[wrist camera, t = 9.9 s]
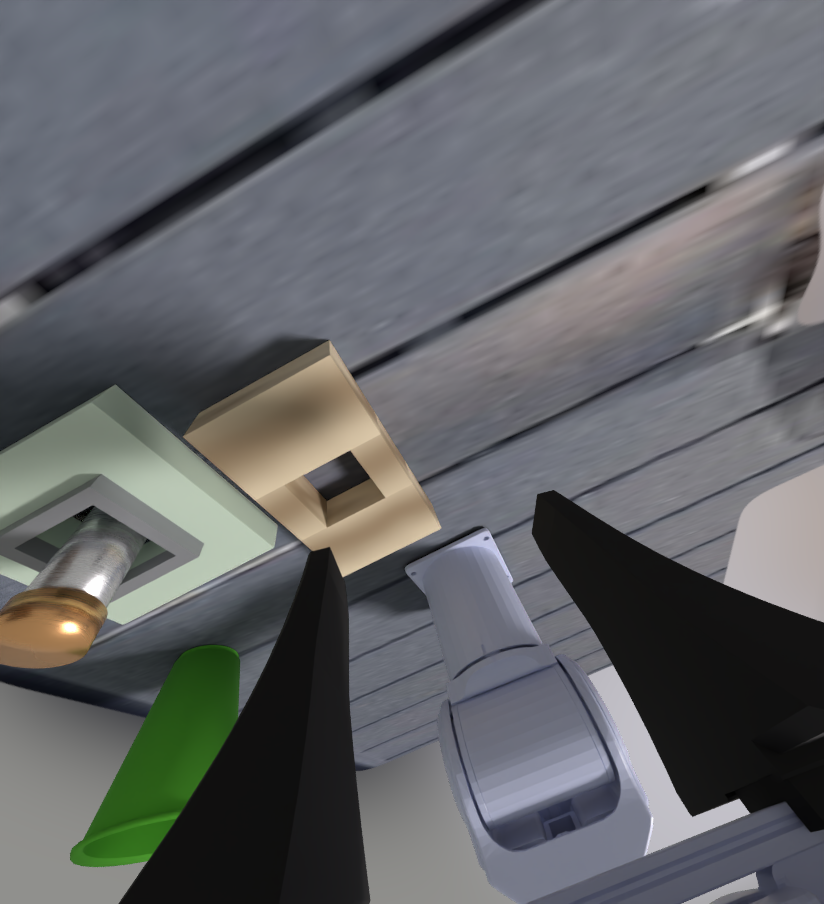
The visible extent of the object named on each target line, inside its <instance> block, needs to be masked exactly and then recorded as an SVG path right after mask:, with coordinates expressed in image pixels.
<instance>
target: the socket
mask: <svg viewBox="0 0 824 904" xmlns="http://www.w3.org/2000/svg"><path fill="white" fill-rule="evenodd" d="M92 505H94V506H95V507H97V508H99V509H100V510H102V511H104V512H105V513H107V514H108V515H110V516H112V517H113V518H115V519H117V520H118V521H120V522H122V523H123V524H125V525H126V526H128V527H130V528H131V529H133V530H135V531H136V532H138V533H140V534H141V535H143V536H144V537H146V538H148V539H149V540H151V541H149V542H148V543H146V544H144V545H143V546H142V548H141V550H140V551H139V553H138V555H137V557H136V558H135V560H134V562H133V563H132V565H131V567H130V569H129V570H128V572H127V574H126V576H125V577H124V579H123V581H122V583H121V584H120V586H119V588H118V589H117V591H116V593H115V595H114V596H113V598H112V600H111V602H110V603H109V605H108V607H107V611H108V615H107V618H108V619H110V620H113V621H115V622H117V623H120V624H122V625H124V624H126V623H128V622H130V621H132V620H134V619H136V618H138V617H140V616H142V615H144V614H145V613H147V612H149V611H151V610H153V609H155V608H157V607H159V606H161V605H163V604H165V603H167V602H169V601H171V600H173V599H175V598H177V597H179V596H181V595H183V594H185V593H187V592H188V591H190V590H192V589H194V588H196V587H198V586H200V585H202V584H204V583H206V582H208V581H210V580H212V579H214V578H216V577H218V576H220V575H222V574H224V573H226V572H228V571H229V570H231V569H233V568H235V567H237V566H239V565H241V564H243V563H245V562H247V561H249V560H251V559H253V558H255V557H257V556H259V555H261V554H263V553H265V552H267V551H269V550H271V549H272V548H274V546H275V540H276V533H277V527H278V525H277V524H276V523H275V522H274V521H272V520H271V519H270V518H269V517H268V516H267V515H266V514H264V513H263V512H262V511H261V510H260V509H259V508H257V507H256V506H255V505H254V504H253V503H252V502H251V501H249V500H248V499H247V498H246V497H245V496H244V495H242V494H241V493H240V492H239V491H238V490H237V489H236V488H234V487H233V486H232V485H231V484H230V483H229V482H227V481H226V480H225V479H224V478H223V477H222V476H221V475H219V474H218V473H217V472H216V471H215V470H214V469H212V468H211V467H210V466H209V465H208V464H207V463H206V462H204V461H203V460H202V459H201V458H200V457H199V456H197V455H196V454H195V453H194V452H193V451H192V450H191V449H189V448H188V447H187V446H186V445H185V444H184V443H182V442H181V441H180V440H179V439H178V438H177V437H175V436H174V435H173V434H172V433H171V432H170V431H169V430H167V429H166V428H165V427H164V426H163V425H162V424H160V423H159V422H158V421H157V420H156V419H155V418H154V417H152V416H151V415H150V414H149V413H148V412H147V411H145V410H144V409H143V408H142V407H141V406H140V405H139V404H137V403H136V402H135V401H134V400H133V399H132V398H130V397H129V396H128V395H127V394H126V393H125V392H124V391H122V390H121V389H120V388H119V387H118V386H117V385H114V386H112V387H110V388H108V389H107V390H105V391H103V392H102V393H100V394H98V395H96V396H95V397H93V398H91V399H90V400H88V401H86V402H84V403H83V404H81V405H79V406H78V407H76V408H74V409H72V410H71V411H69V412H67V413H65V414H64V415H62V416H60V417H59V418H57V419H55V420H53V421H52V422H50V423H48V424H47V425H45V426H43V427H41V428H40V429H38V430H36V431H35V432H33V433H31V434H29V435H28V436H26V437H24V438H23V439H21V440H19V441H17V442H16V443H14V444H12V445H11V446H9V447H7V448H5V449H4V450H2V451H0V574H2V575H4V576H6V577H9V578H11V579H14V580H16V581H18V582H21V583H23V584H26V585H28V586H29V585H30V584H31V582H32V581H33V580H34V579H35V578H36V576H37V575H38V574H39V573H40V572H41V570H42V569H43V568H44V567H45V566H46V564H47V563H48V562H49V561H50V560H51V558H52V557H53V556H54V555H55V554H56V552H57V551H58V550H59V549H60V548H61V546H62V545H63V544H64V543H65V542H66V540H67V539H68V538H69V537H70V536H71V534H72V533H73V532H74V531H75V530H76V528H77V527H78V526H79V525H80V524H81V521H79V520H77V519H76V518H74V517H72V516H73V515H75V514H77V513H79V512H81V511H83V510H84V509H86V508H88V507H90V506H92Z"/></svg>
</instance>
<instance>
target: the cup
mask: <svg viewBox="0 0 824 904" xmlns="http://www.w3.org/2000/svg"><path fill="white" fill-rule="evenodd" d="M239 678H240V659H239V655H238V653H237V652H236V651H235V650H234V649H232V648H230V647H226V646H221V645H205V646H199V647H195V648H192V649H190V650H187V651H186V652H184V653H183V654H182V655H181V656H180V657H179V659H178V660H177V661H176V662H175V663H174V665H173V667H172V669H171V671H170V673H169V675H168V677H167V679H166V681H165V682H164V684H163V686H162V688H161V690H160V692H159V694H158V696H157V698H156V700H155V702H154V704H153V706H152V708H151V710H150V711H149V713H148V715H147V717H146V719H145V721H144V723H143V725H142V727H141V729H140V731H139V733H138V735H137V737H136V739H135V740H134V743H133V744H132V746H131V748H130V750H129V752H128V754H127V756H126V758H125V760H124V762H123V764H122V766H121V768H120V769H119V771H118V773H117V775H116V777H115V779H114V781H113V783H112V785H111V787H110V789H109V791H108V793H107V795H106V797H105V799H104V800H103V802H102V804H101V806H100V808H99V810H98V812H97V814H96V816H95V818H94V820H93V822H92V824H91V826H90V827H89V830H88V831H87V833H86V835H85V837H84V839H83V840H82V841H80V842H79V843H78V844H77V845H76V846H74V847H73V848H72V850H71V853H70V860H71V861H72V862H73V863H74V864H77V865H80V866H89V867H105V866H118V865H126V864H133V863H138V862H145V861H148V860H149V859H150V857H151V856H152V854H153V853H154V851H155V850H156V848H157V847H158V846H159V844H160V843H161V841H162V840H163V838H164V837H165V835H166V834H167V832H168V831H169V830H170V828H171V827H172V825H173V824H174V822H175V820H176V819H177V817H178V816H179V814H180V813H181V811H182V810H183V808H184V807H185V805H186V803H187V802H188V800H189V799H190V797H191V795H192V794H193V792H194V791H195V789H196V788H197V786H198V784H199V783H200V781H201V780H202V778H203V776H204V775H205V773H206V772H207V770H208V768H209V767H210V765H211V764H212V762H213V760H214V759H215V757H216V756H217V754H218V752H219V751H220V749H221V747H222V745H223V744H224V742H225V740H226V739H227V737H228V735H229V733H230V732H231V730H232V728H233V726H234V724H235V723H236V721H237V719H238V703H239Z"/></svg>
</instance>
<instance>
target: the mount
mask: <svg viewBox="0 0 824 904" xmlns="http://www.w3.org/2000/svg"><path fill="white" fill-rule="evenodd" d="M183 438H185V439H186V440H187V441H188V442H189V443H190V444H191V445H193V446H194V447H195V448H196V449H197V450H198V451H199V452H201V453H202V454H203V455H204V456H205V457H206V458H207V459H209V460H210V461H211V462H212V463H213V464H214V465H215V466H216V467H218V468H219V469H220V470H221V471H222V472H223V473H224V474H226V475H227V476H228V477H229V478H230V479H231V480H232V481H234V482H235V483H236V484H237V485H238V486H239V487H240V488H242V489H243V490H244V491H245V492H246V493H247V494H248V495H249V496H251V497H252V498H253V499H254V500H255V501H256V502H257V503H259V504H260V505H261V506H262V507H263V508H264V509H265V510H267V511H268V512H269V513H270V514H271V515H272V516H273V517H274V518H276V519H277V520H278V521H279V522H280V523H281V524H282V525H284V526H285V527H286V528H287V529H288V530H289V531H290V532H292V533H293V534H294V535H295V536H296V537H297V538H298V539H300V540H301V541H302V542H303V543H304V544H305V545H306V546H307V547H309V548H310V549H311V550H312V551H315V550H319V549H323V548H327V547H330V548H331V550H332V553H333V555H334V558H335V560H336V562H337V565H338V567H339V570H340V572H341V574H342V577H344V576H346V575H348V574H350V573H352V572H354V571H357V570H359V569H361V568H363V567H365V566H367V565H369V564H371V563H373V562H375V561H377V560H379V559H381V558H383V557H385V556H387V555H389V554H391V553H393V552H395V551H397V550H399V549H401V548H403V547H405V546H407V545H409V544H411V543H413V542H415V541H417V540H419V539H421V538H423V537H425V536H427V535H429V534H431V533H433V532H435V531H437V530H439V529H441V526H440V524H439V521H438V519H437V516H436V514H435V511H434V508H433V506H432V504H431V502H430V501H429V499H428V497H427V496H426V494H425V492H424V491H423V489H422V488H421V486H420V484H419V483H418V481H417V480H416V478H415V476H414V475H413V473H412V472H411V470H410V468H409V467H408V465H407V464H406V462H405V460H404V459H403V457H402V456H401V454H400V452H399V451H398V449H397V448H396V446H395V444H394V443H393V441H392V440H391V438H390V436H389V435H388V433H387V432H386V430H385V428H384V427H383V425H382V424H381V422H380V420H379V419H378V417H377V415H376V414H375V412H374V411H373V409H372V407H371V406H370V404H369V403H368V401H367V399H366V398H365V396H364V395H363V393H362V391H361V390H360V388H359V387H358V385H357V383H356V382H355V380H354V379H353V377H352V375H351V374H350V372H349V371H348V369H347V367H346V366H345V364H344V363H343V361H342V359H341V358H340V356H339V355H338V353H337V351H336V350H335V348H334V347H333V345H332V343H331V342H330V340H328V341H327V342H325V343H323V344H321V345H319V346H318V347H316V348H314V349H312V350H311V351H309V352H307V353H305V354H303V355H302V356H300V357H298V358H296V359H294V360H293V361H291V362H289V363H287V364H286V365H284V366H282V367H280V368H278V369H277V370H275V371H273V372H271V373H270V374H268V375H266V376H264V377H262V378H261V379H259V380H257V381H255V382H253V383H252V384H250V385H248V386H246V387H245V388H243V389H241V390H239V391H237V392H236V393H234V394H232V395H230V396H228V397H227V398H225V399H223V400H221V401H220V402H218V403H216V404H214V405H212V406H211V407H209V408H207V409H205V410H203V411H202V412H200V413H199V414H198V415H197V417H196V418H195V420H194V421H193V423H192V424H191V426H190V427H189V428H188V430H187V431H186V433H185V434H184V436H183ZM348 451H351V452H352V453H353V455H354V456H355V457H356V459H357V460H358V461H359V463H360V464H361V466H362V467H363V468H364V470H365V471H366V472H367V474H368V475H369V476H370V479H369V480H367V481H365V482H363V483H361V484H359V485H357V486H355V487H353V488H351V489H349V490H347V491H345V492H343V493H341V494H340V495H338V496H336V497H334V498H332V499H330V500H328V501H326V500H325V498H324V497H323V496H322V495H321V494H320V493H319V492H318V491H317V490H316V489H315V488H314V487H313V486H312V484H311V483H310V482H309V481H308V480H307V479H306V478H305V477H304V476H303V475H304V474H306V473H308V472H310V471H312V470H314V469H316V468H318V467H319V466H321V465H323V464H325V463H327V462H329V461H331V460H333V459H335V458H337V457H338V456H340V455H342V454H344V453H346V452H348Z"/></svg>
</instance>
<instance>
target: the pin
mask: <svg viewBox="0 0 824 904" xmlns="http://www.w3.org/2000/svg"><path fill="white" fill-rule="evenodd" d="M146 539H147V538H146V537H144V536H143V535H141V534H140V533H138V532H136V531H135V530H133V529H131V528H130V527H128V526H126V525H125V524H123V523H122V522H120V521H118V520H117V519H115V518H113V517H112V516H110V515H108V514H107V513H105V512H104V511H102V510H100V509H99V508H97V507H94V508H93V509H92V510H91V512H90V513H89V514H88V515H87V516H86V518H85V519H84V520H83V521H82V522H81V524H80V525H79V526H78V527H77V528H76V530H75V531H74V532H73V533H72V534H71V536H70V537H69V538H68V539H67V540H66V542H65V543H64V544H63V545H62V546H61V548H60V549H59V550H58V551H57V552H56V554H55V555H54V556H53V557H52V558H51V560H50V561H49V562H48V563H47V564H46V566H45V567H44V568H43V569H42V570H41V572H40V573H39V574H38V575H37V576H36V578H35V579H34V580H33V581H32V582H31V584H30V585H29V586H28V587H27V588H26V590H25V591H24V592H22V593H19V594H17V595H15V596H14V597H12V598H11V599H10V600H9V601H8V602H7V603H6V604H5V606H4V607H3V608H2V609H1V610H0V664H3V665H8V666H13V667H20V668H51V667H58V666H63V665H67V664H70V663H73V662H75V661H77V660H79V659H81V658H82V657H84V656H85V655H86V653H87V652H88V650H89V648H90V647H91V645H92V643H93V641H94V639H95V638H96V636H97V634H98V632H99V631H100V629H101V627H102V625H103V624H104V622H105V620H106V618H107V615H108V611H107V607H108V605H109V603H110V602H111V600H112V598H113V596H114V595H115V593H116V591H117V589H118V588H119V586H120V584H121V583H122V581H123V579H124V577H125V576H126V574H127V572H128V570H129V569H130V567H131V565H132V563H133V562H134V560H135V558H136V557H137V555H138V553H139V551H140V550H141V548H142V546H143V544H144V543H145V541H146Z"/></svg>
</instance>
